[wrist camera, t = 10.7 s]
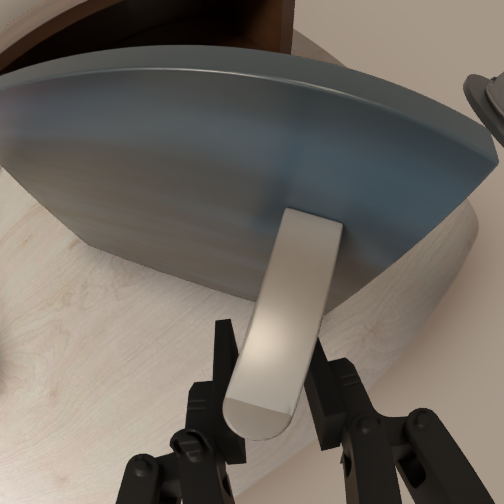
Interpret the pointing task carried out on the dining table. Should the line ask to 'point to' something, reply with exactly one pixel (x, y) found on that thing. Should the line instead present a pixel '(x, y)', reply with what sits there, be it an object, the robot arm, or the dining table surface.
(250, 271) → the door
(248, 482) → the dining table surface
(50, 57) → the cupboard
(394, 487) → the robot arm
